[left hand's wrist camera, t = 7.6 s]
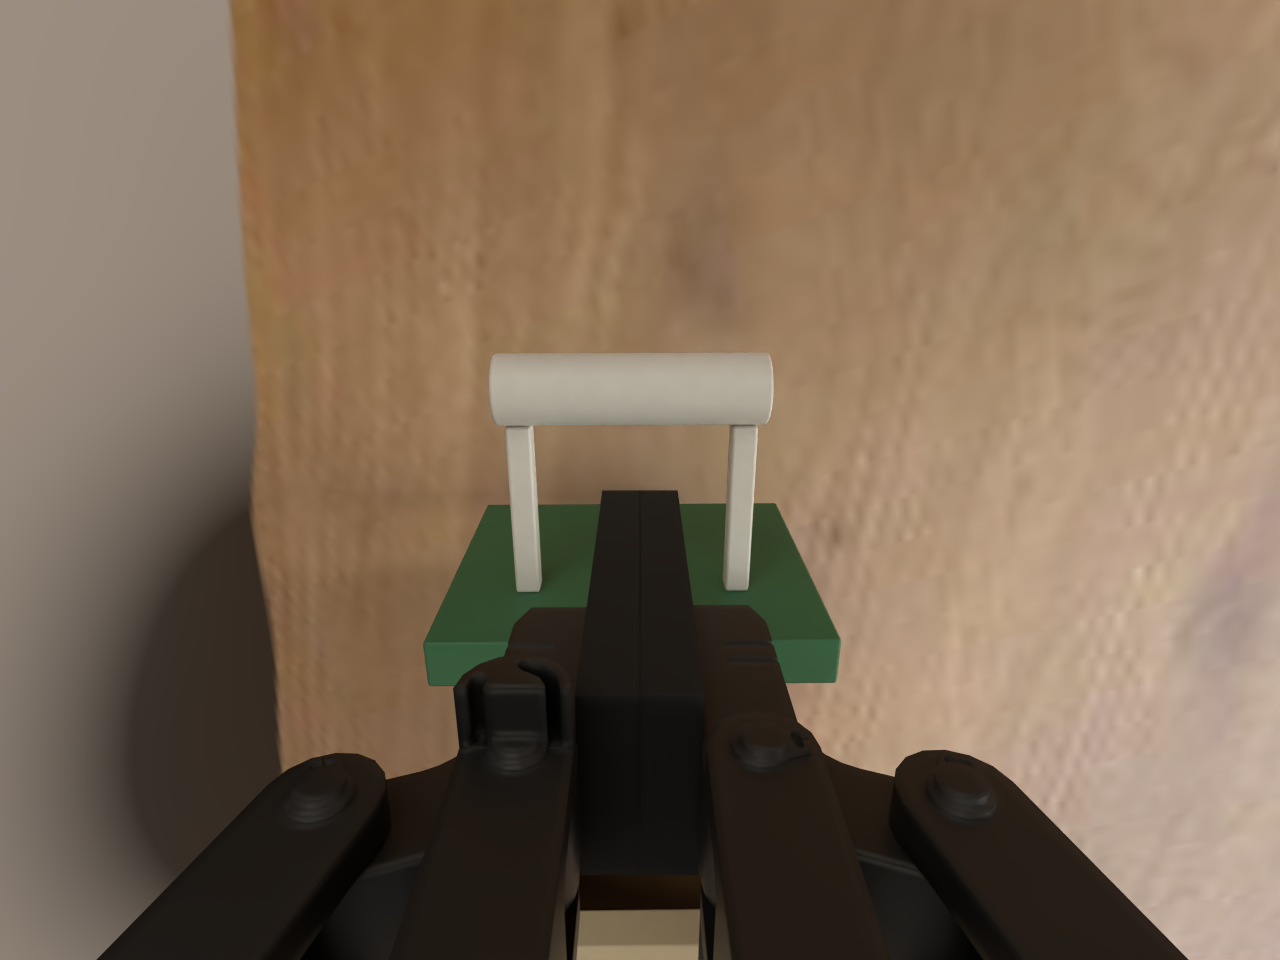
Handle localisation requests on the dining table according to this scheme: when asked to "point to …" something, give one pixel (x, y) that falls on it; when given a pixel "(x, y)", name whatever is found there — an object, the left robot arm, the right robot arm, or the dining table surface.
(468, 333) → the dining table surface
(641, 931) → the cabinet
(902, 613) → the dining table surface
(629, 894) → the drawer
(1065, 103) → the dining table surface
